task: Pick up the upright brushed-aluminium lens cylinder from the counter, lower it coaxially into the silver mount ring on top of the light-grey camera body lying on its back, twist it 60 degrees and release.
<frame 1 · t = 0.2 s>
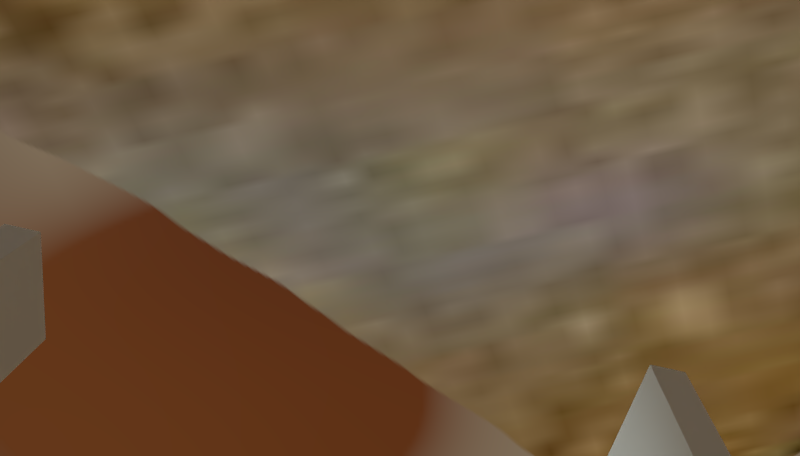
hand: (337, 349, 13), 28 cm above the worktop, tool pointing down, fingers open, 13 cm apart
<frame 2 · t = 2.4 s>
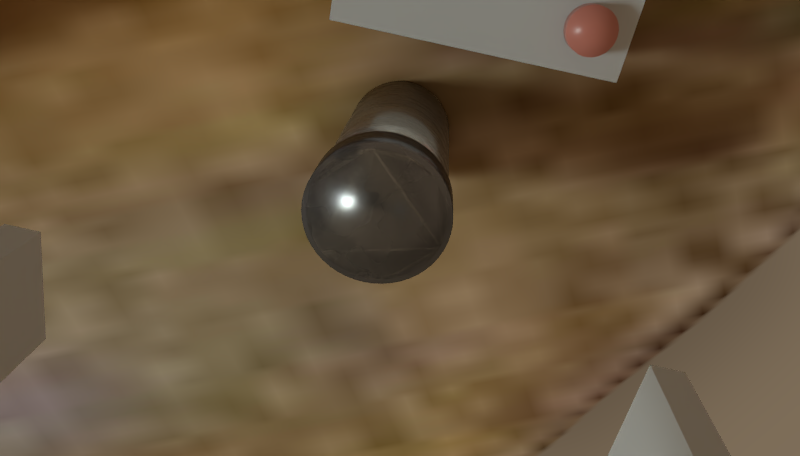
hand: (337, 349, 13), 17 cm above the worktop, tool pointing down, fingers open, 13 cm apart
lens: (399, 130, 29), on the worktop
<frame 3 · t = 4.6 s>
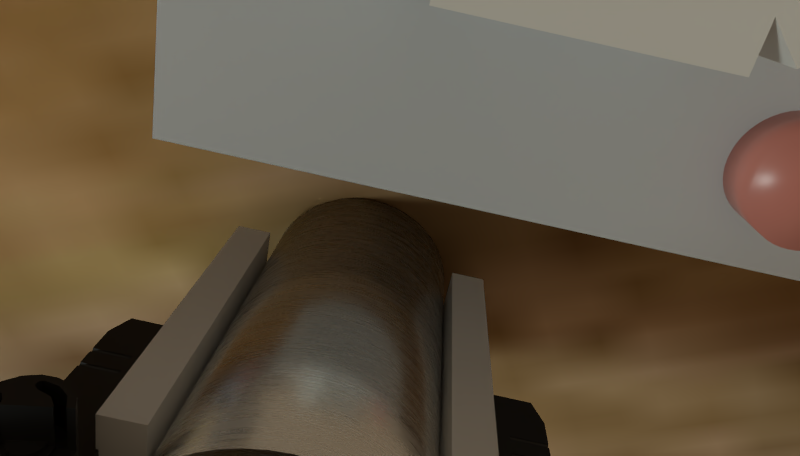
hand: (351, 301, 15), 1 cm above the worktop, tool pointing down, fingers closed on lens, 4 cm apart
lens: (358, 278, 16), on the worktop, touching gripper
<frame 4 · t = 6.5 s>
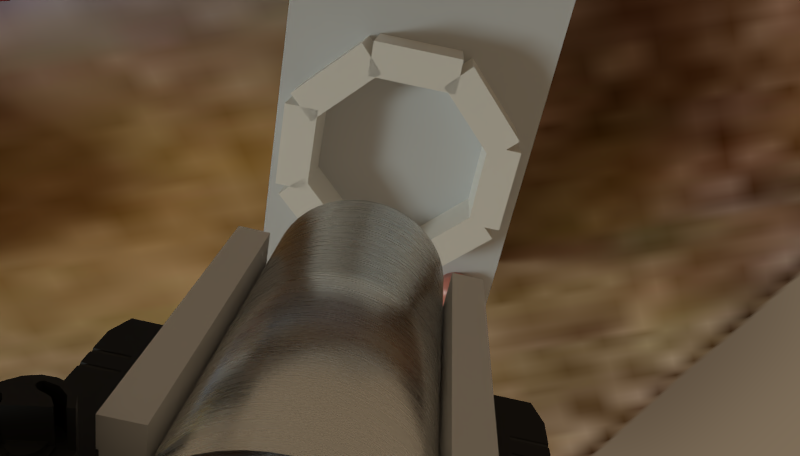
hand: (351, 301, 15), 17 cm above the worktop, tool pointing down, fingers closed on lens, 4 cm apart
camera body: (409, 115, 30), on the worktop
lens: (357, 279, 16), point 15 cm above the worktop, touching gripper
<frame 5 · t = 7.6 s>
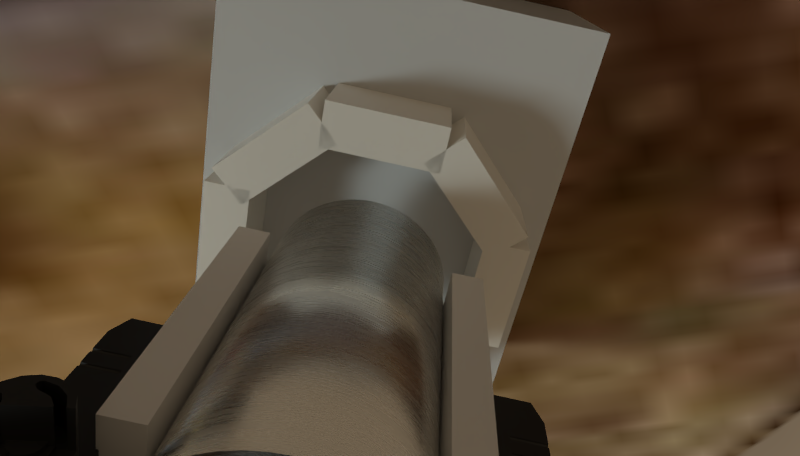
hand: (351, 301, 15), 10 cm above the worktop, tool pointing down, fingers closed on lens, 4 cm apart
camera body: (385, 169, 24), on the worktop
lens: (357, 278, 16), point 8 cm above the worktop, touching gripper
when the fingers open (8 cm above the worktop, at t = 8.4 s): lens drops 1 cm, resting on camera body.
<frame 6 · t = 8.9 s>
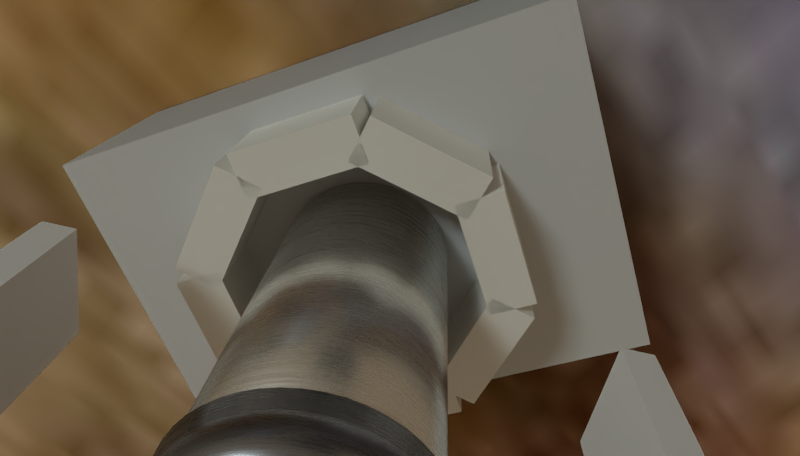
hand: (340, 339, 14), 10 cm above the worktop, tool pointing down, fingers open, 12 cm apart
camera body: (385, 183, 23), on the worktop
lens: (366, 257, 17), point 6 cm above the worktop, touching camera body
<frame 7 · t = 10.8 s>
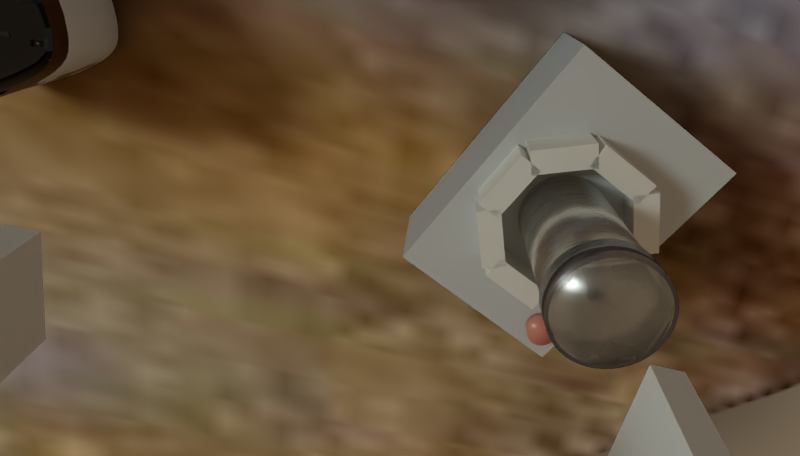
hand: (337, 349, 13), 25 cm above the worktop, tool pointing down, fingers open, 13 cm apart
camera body: (545, 180, 38), on the worktop
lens: (562, 216, 32), point 6 cm above the worktop, touching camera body
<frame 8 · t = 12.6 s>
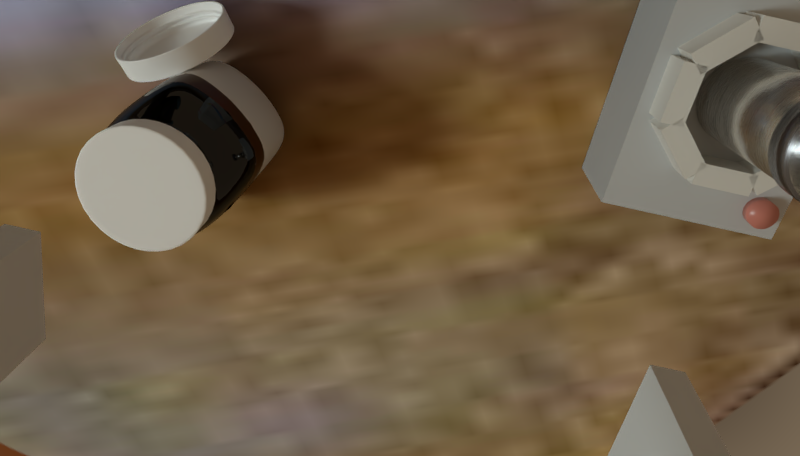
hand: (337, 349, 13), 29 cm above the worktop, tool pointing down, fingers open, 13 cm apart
spread jar: (210, 99, 41), on the worktop
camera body: (698, 79, 38), on the worktop
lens: (740, 100, 33), point 6 cm above the worktop, touching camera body
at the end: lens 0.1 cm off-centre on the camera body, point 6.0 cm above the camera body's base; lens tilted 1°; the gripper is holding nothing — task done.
